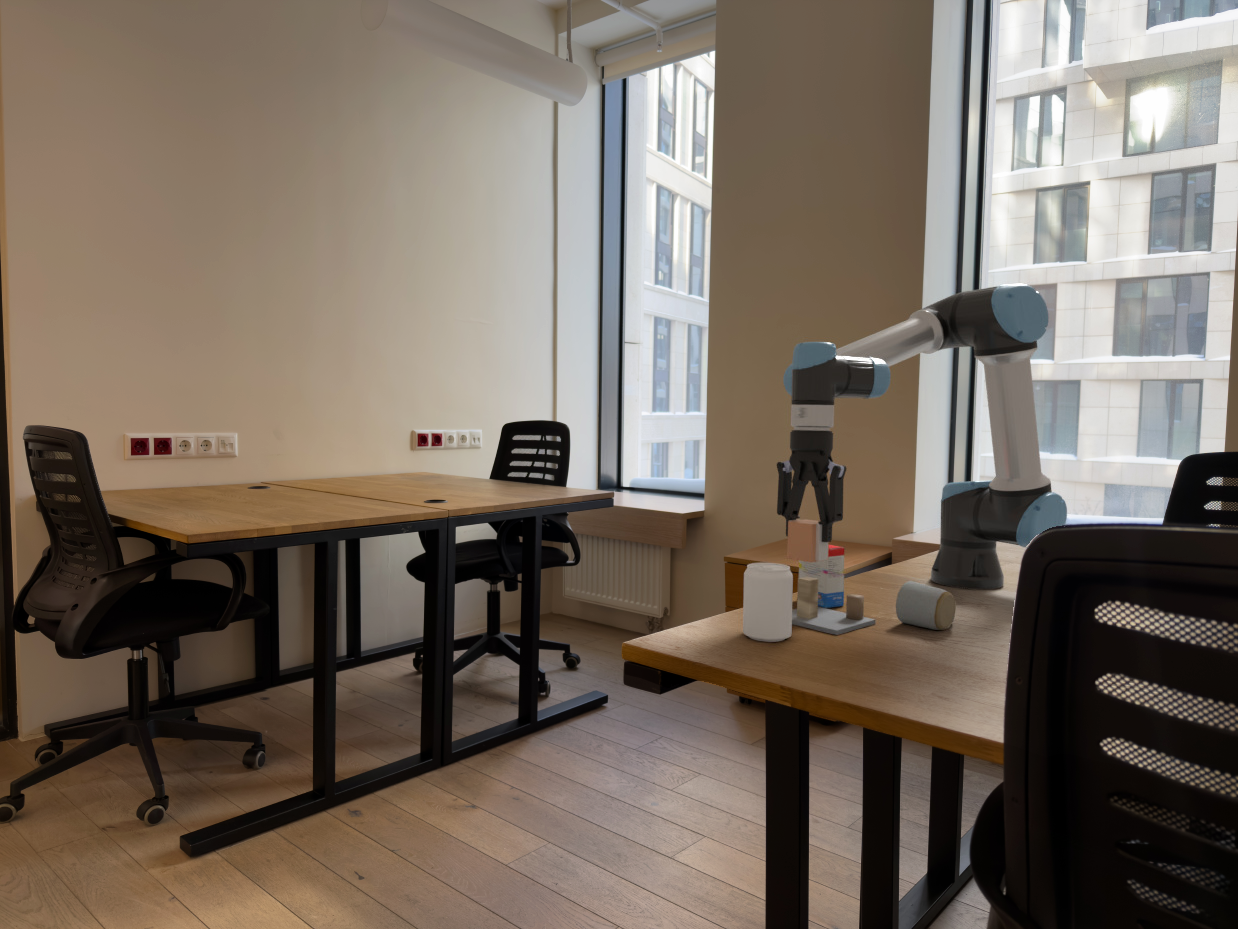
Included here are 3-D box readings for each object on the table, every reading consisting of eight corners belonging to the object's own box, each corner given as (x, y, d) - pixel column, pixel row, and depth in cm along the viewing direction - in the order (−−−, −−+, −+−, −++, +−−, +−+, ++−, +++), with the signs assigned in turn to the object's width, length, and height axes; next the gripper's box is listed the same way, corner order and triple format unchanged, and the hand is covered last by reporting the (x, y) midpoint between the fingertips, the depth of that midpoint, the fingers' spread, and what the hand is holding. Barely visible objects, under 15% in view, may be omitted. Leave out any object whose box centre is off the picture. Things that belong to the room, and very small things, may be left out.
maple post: (805, 618, 150) (806, 576, 150) (817, 621, 148) (818, 578, 148) (796, 620, 149) (797, 578, 148) (808, 623, 147) (809, 580, 146)
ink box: (844, 606, 160) (846, 532, 159) (825, 609, 158) (827, 533, 157) (815, 597, 168) (817, 526, 167) (796, 600, 166) (798, 528, 165)
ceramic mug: (937, 635, 140) (939, 590, 140) (893, 625, 146) (895, 583, 146) (965, 626, 147) (967, 583, 147) (922, 617, 153) (924, 576, 153)
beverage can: (785, 645, 132) (786, 572, 132) (736, 639, 136) (738, 568, 135) (796, 633, 140) (797, 564, 139) (750, 628, 143) (751, 560, 142)
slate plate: (810, 609, 157) (811, 584, 157) (875, 623, 147) (876, 597, 147) (771, 619, 150) (771, 593, 149) (836, 635, 139) (837, 607, 139)
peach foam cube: (804, 555, 151) (805, 519, 151) (828, 559, 147) (829, 522, 147) (787, 558, 148) (788, 521, 148) (811, 562, 144) (812, 524, 144)
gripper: (758, 427, 151) (754, 552, 152) (843, 430, 137) (838, 567, 138) (783, 428, 156) (780, 549, 157) (868, 430, 142) (863, 562, 143)
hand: (807, 557), depth 148 cm, fingers closed on peach foam cube, 5 cm apart
